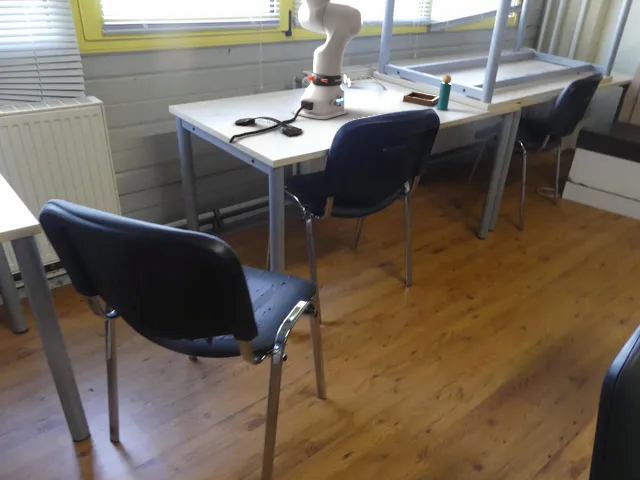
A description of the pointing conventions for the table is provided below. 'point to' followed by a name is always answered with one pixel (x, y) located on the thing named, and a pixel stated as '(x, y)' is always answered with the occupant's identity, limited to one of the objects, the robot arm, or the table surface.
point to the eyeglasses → (353, 81)
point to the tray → (421, 98)
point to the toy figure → (444, 93)
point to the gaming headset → (293, 130)
